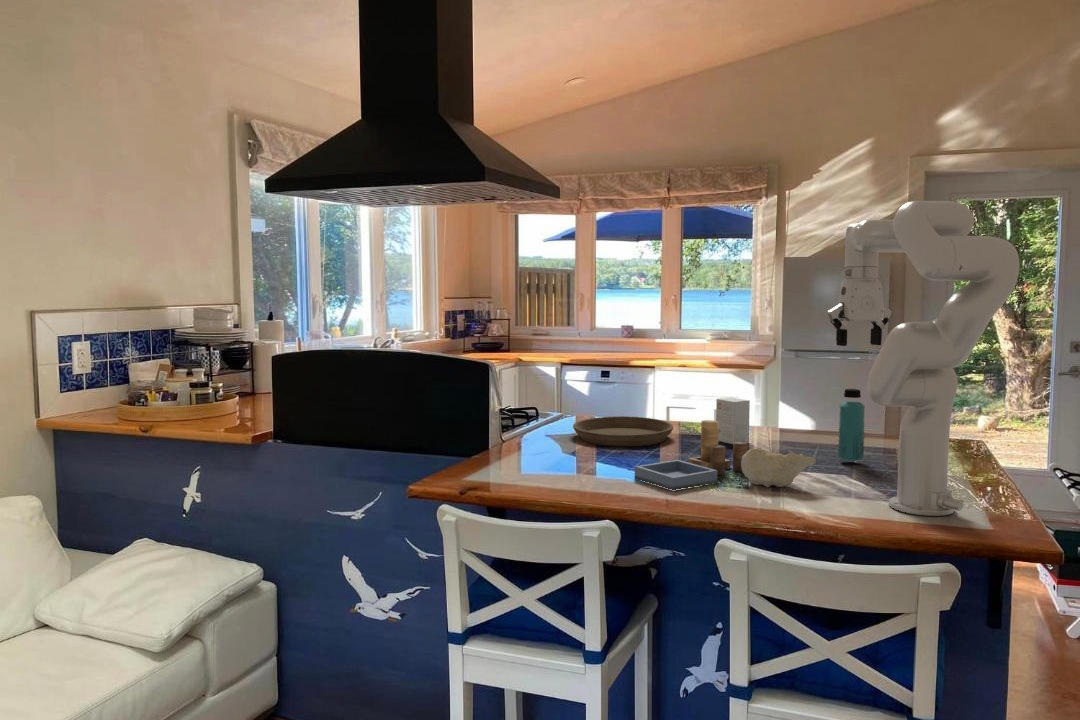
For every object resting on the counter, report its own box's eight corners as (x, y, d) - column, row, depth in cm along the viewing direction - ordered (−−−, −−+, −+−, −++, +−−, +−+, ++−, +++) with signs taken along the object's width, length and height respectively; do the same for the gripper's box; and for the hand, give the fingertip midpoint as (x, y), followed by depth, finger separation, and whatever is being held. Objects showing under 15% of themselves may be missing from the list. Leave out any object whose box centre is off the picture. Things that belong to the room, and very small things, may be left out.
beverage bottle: (865, 466, 211) (868, 390, 209) (839, 465, 212) (841, 390, 211) (861, 461, 217) (863, 387, 216) (835, 460, 219) (837, 387, 217)
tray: (717, 483, 193) (717, 470, 193) (673, 491, 185) (673, 477, 185) (677, 472, 205) (677, 459, 204) (634, 479, 197) (634, 466, 197)
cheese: (727, 490, 195) (752, 462, 183) (731, 464, 199) (755, 435, 187) (787, 509, 195) (816, 482, 183) (789, 483, 199) (817, 455, 187)
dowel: (721, 467, 210) (722, 422, 209) (709, 469, 208) (709, 423, 206) (709, 464, 214) (710, 419, 212) (697, 466, 211) (697, 421, 210)
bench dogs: (750, 470, 206) (750, 443, 206) (717, 476, 200) (717, 448, 199) (739, 467, 209) (740, 441, 209) (707, 473, 203) (707, 446, 202)
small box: (749, 443, 242) (750, 400, 241) (733, 445, 239) (734, 401, 238) (730, 438, 249) (731, 397, 248) (714, 440, 246) (715, 398, 245)
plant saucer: (619, 453, 229) (619, 437, 229) (552, 436, 254) (553, 422, 253) (694, 440, 248) (694, 425, 247) (625, 426, 272) (625, 413, 272)
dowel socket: (730, 467, 209) (730, 460, 209) (708, 471, 205) (709, 463, 205) (709, 462, 216) (709, 455, 216) (688, 465, 212) (688, 458, 212)
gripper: (839, 274, 189) (837, 347, 190) (902, 274, 194) (899, 345, 195) (820, 274, 196) (818, 344, 198) (881, 275, 201) (878, 343, 202)
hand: (858, 345), depth 196 cm, fingers open, 9 cm apart
